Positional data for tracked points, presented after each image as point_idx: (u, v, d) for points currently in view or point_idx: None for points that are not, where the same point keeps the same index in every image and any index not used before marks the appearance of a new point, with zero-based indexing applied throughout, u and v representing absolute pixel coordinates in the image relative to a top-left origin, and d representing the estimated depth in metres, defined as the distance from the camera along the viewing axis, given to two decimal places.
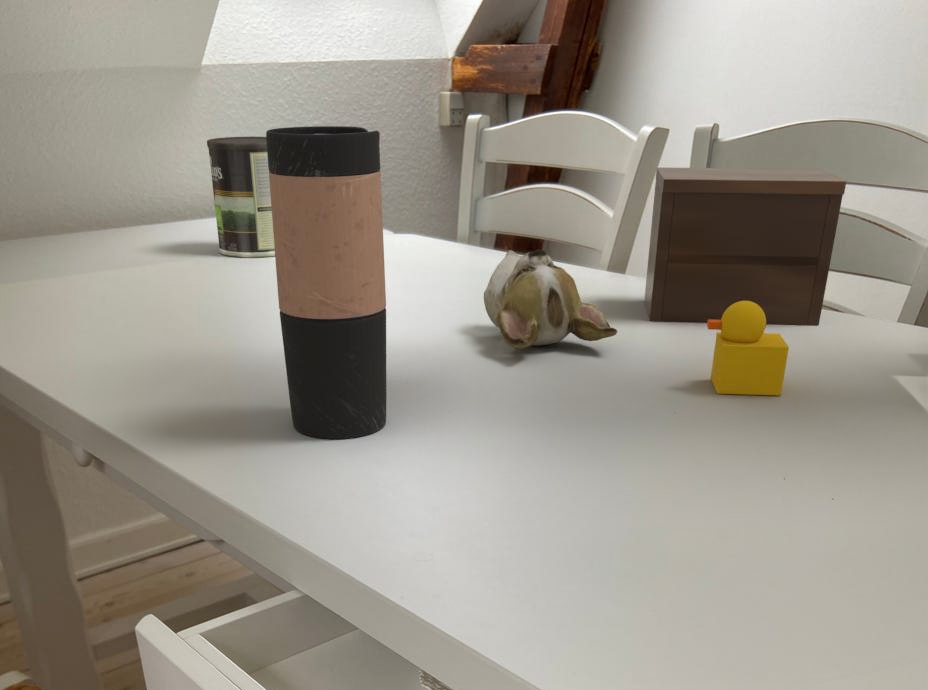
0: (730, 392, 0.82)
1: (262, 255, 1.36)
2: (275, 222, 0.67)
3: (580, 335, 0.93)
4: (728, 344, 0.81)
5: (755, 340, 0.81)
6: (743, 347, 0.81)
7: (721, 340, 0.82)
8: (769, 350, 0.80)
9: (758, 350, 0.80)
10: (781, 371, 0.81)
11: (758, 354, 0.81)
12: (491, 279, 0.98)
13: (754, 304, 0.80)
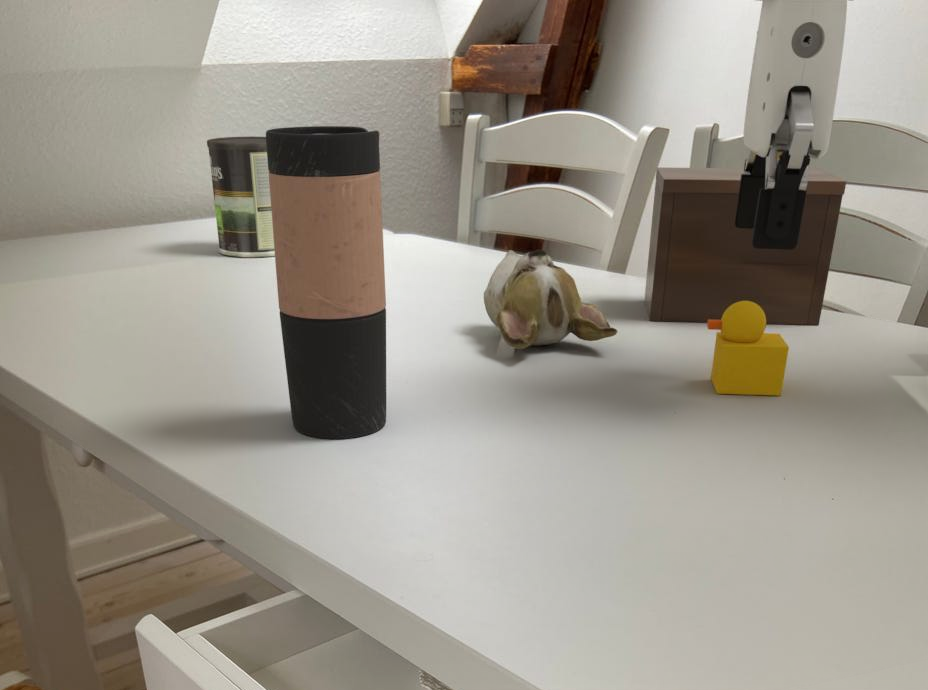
0: (730, 392, 0.82)
1: (262, 255, 1.36)
2: (275, 222, 0.67)
3: (580, 335, 0.93)
4: (728, 344, 0.81)
5: (755, 340, 0.81)
6: (743, 347, 0.81)
7: (721, 340, 0.82)
8: (769, 350, 0.80)
9: (758, 350, 0.80)
10: (781, 371, 0.81)
11: (758, 354, 0.81)
12: (491, 279, 0.98)
13: (754, 304, 0.80)
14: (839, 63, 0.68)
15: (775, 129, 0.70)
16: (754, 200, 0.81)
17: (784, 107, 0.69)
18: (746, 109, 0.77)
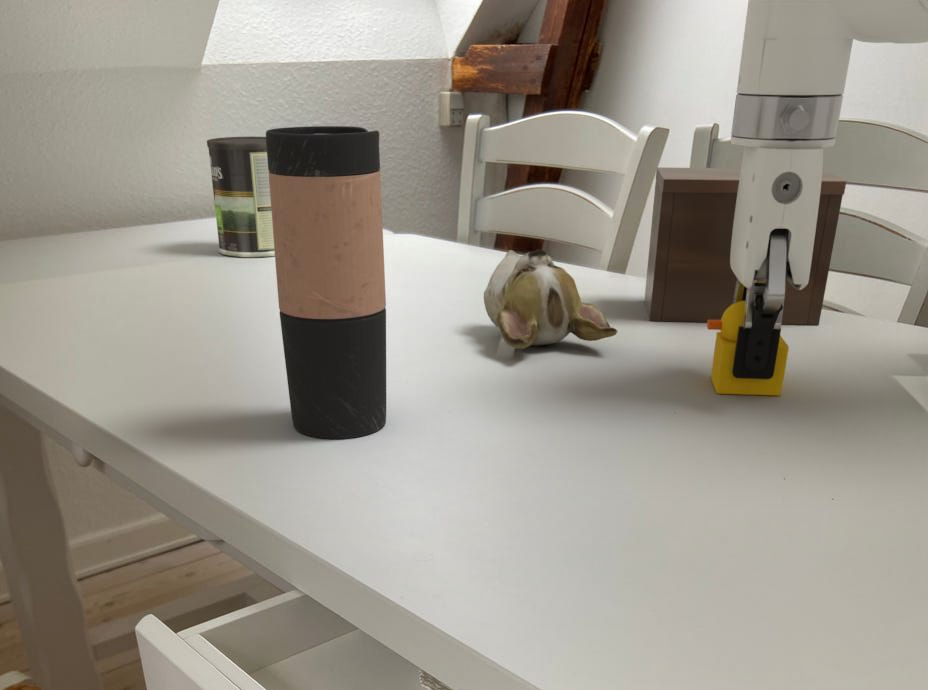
0: (730, 392, 0.82)
1: (262, 255, 1.36)
2: (275, 222, 0.67)
3: (580, 335, 0.93)
4: (728, 344, 0.81)
5: None
6: None
7: (721, 340, 0.82)
8: None
9: None
10: (781, 371, 0.81)
11: None
12: (491, 279, 0.98)
13: (754, 304, 0.80)
14: (817, 208, 0.73)
15: None
16: None
17: (766, 247, 0.74)
18: (732, 236, 0.81)
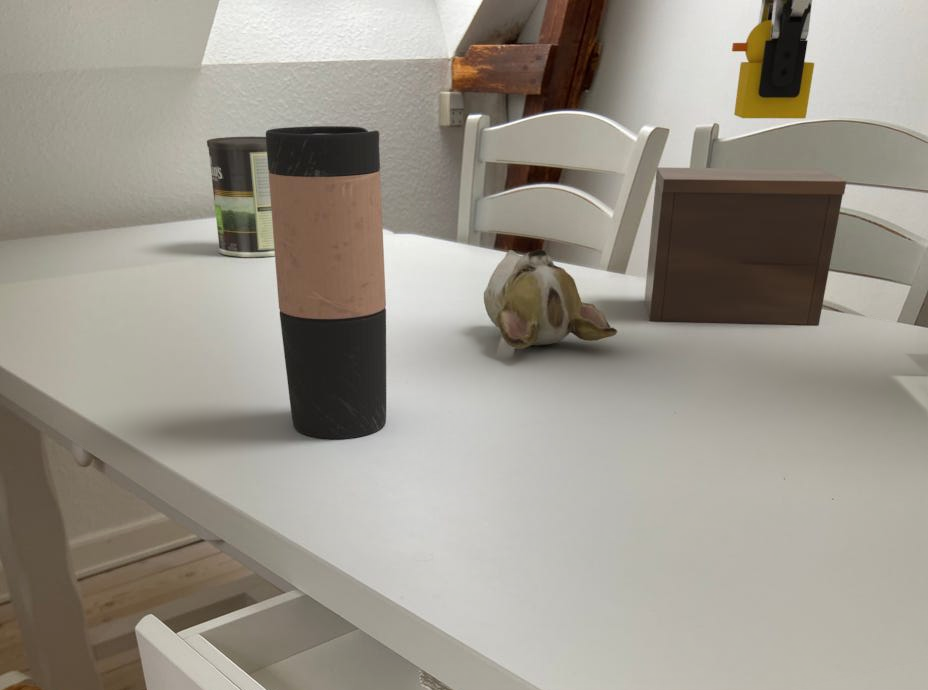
0: (755, 116, 0.83)
1: (262, 255, 1.36)
2: (275, 222, 0.67)
3: (580, 335, 0.93)
4: (754, 62, 0.81)
5: None
6: None
7: (746, 62, 0.83)
8: None
9: None
10: (806, 90, 0.82)
11: None
12: (491, 279, 0.98)
13: None
14: None
15: None
16: None
17: None
18: None
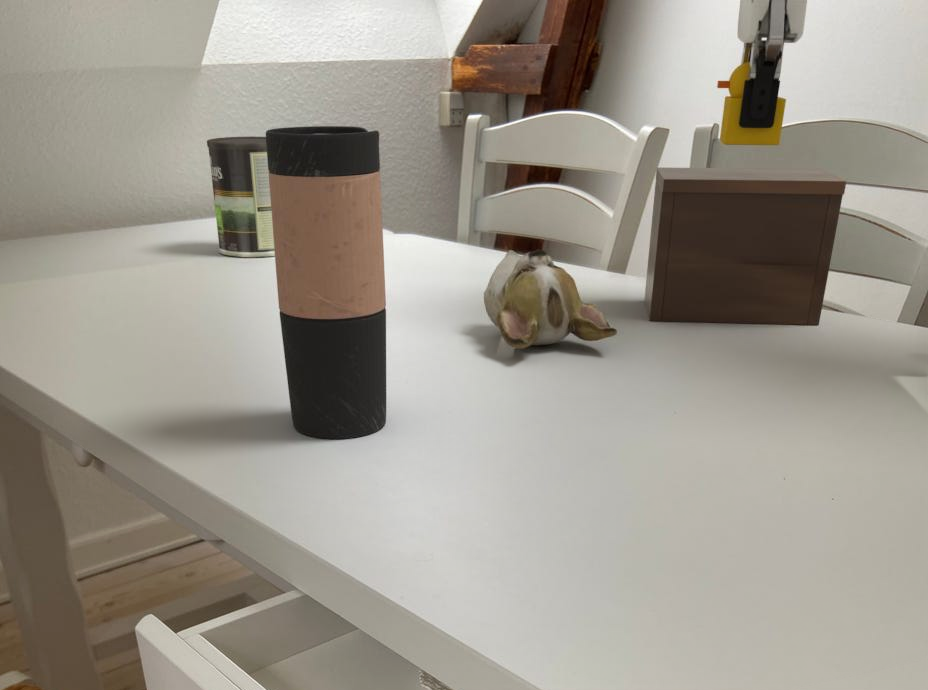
0: (736, 143, 0.98)
1: (262, 255, 1.36)
2: (275, 222, 0.67)
3: (580, 335, 0.93)
4: (735, 98, 0.96)
5: None
6: None
7: (729, 97, 0.97)
8: None
9: None
10: (779, 122, 0.97)
11: None
12: (491, 279, 0.98)
13: None
14: None
15: (758, 34, 0.91)
16: None
17: None
18: (739, 9, 0.97)
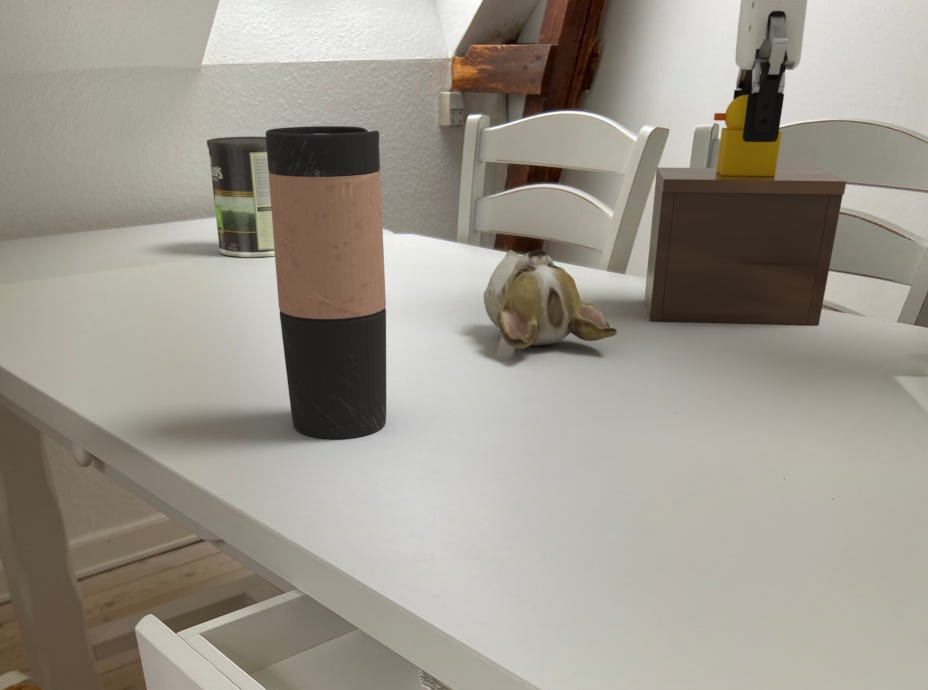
0: (733, 174, 0.99)
1: (262, 255, 1.36)
2: (275, 222, 0.67)
3: (580, 335, 0.93)
4: (731, 130, 0.98)
5: None
6: None
7: (725, 130, 0.99)
8: None
9: None
10: (775, 154, 0.98)
11: None
12: (491, 279, 0.98)
13: None
14: None
15: (759, 45, 0.91)
16: None
17: (765, 28, 0.90)
18: (737, 36, 0.98)
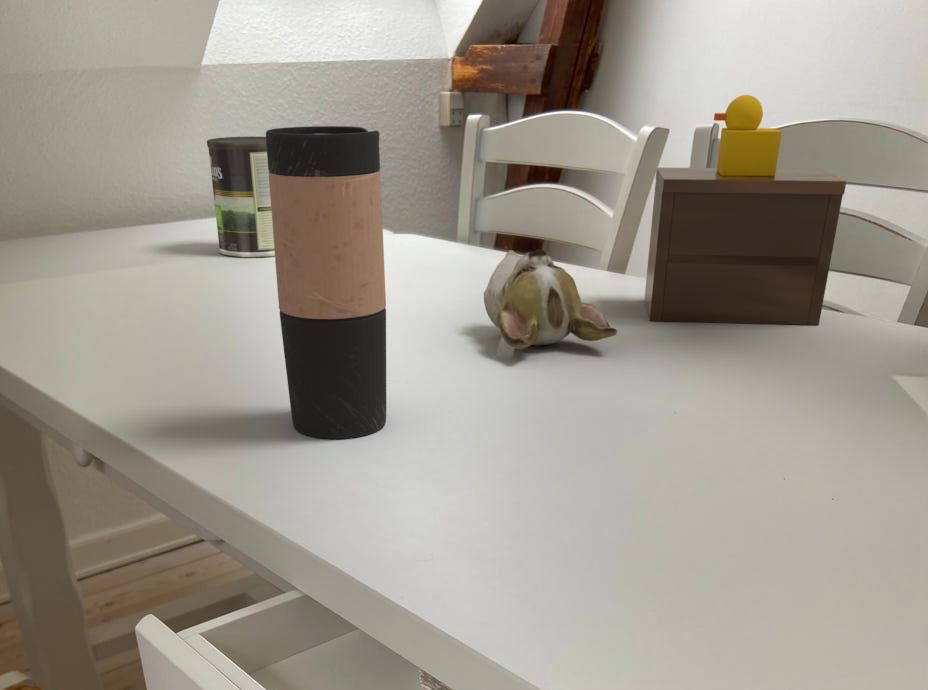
0: (733, 174, 0.99)
1: (262, 255, 1.36)
2: (275, 222, 0.67)
3: (580, 335, 0.93)
4: (731, 130, 0.98)
5: (754, 128, 0.98)
6: (743, 133, 0.97)
7: (725, 130, 0.99)
8: (765, 134, 0.97)
9: (756, 135, 0.97)
10: (775, 154, 0.98)
11: (756, 139, 0.97)
12: (491, 279, 0.98)
13: None
14: None
15: None
16: None
17: None
18: None
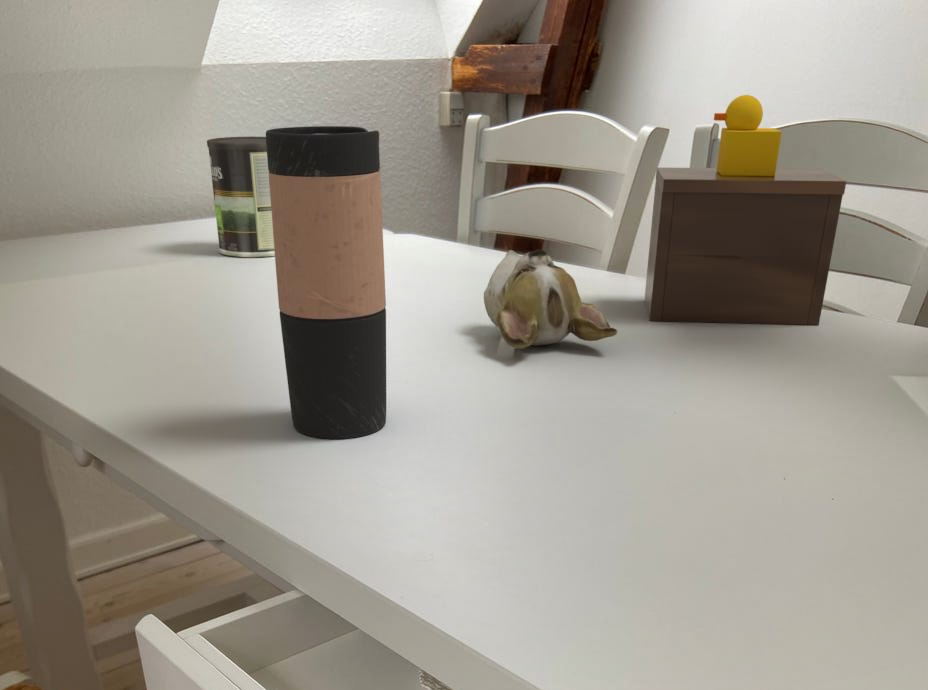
0: (733, 174, 0.99)
1: (262, 255, 1.36)
2: (275, 222, 0.67)
3: (580, 335, 0.93)
4: (731, 130, 0.98)
5: (754, 128, 0.98)
6: (743, 133, 0.97)
7: (725, 130, 0.99)
8: (765, 134, 0.97)
9: (756, 135, 0.97)
10: (775, 154, 0.98)
11: (756, 139, 0.97)
12: (491, 279, 0.98)
13: None
14: None
15: None
16: None
17: None
18: None
